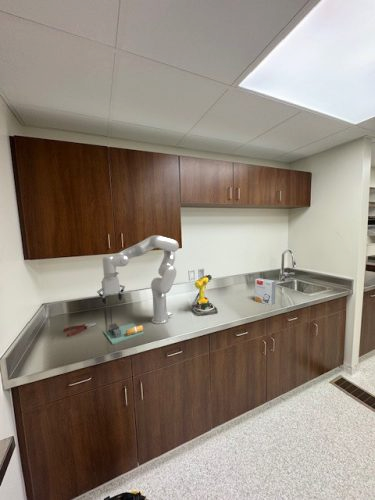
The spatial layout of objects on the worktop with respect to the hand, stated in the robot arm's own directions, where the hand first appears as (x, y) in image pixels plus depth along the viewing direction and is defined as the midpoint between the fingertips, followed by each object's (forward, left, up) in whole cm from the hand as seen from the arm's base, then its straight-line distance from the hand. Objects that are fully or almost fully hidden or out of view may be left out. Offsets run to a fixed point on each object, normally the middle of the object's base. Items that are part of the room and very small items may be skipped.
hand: (112, 301), depth 135 cm
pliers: (+17, -20, -22) cm, 34 cm away
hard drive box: (-122, +29, -21) cm, 127 cm away
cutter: (0, +2, -20) cm, 20 cm away
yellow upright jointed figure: (-70, +9, -22) cm, 74 cm away
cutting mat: (-5, +4, -21) cm, 22 cm away
